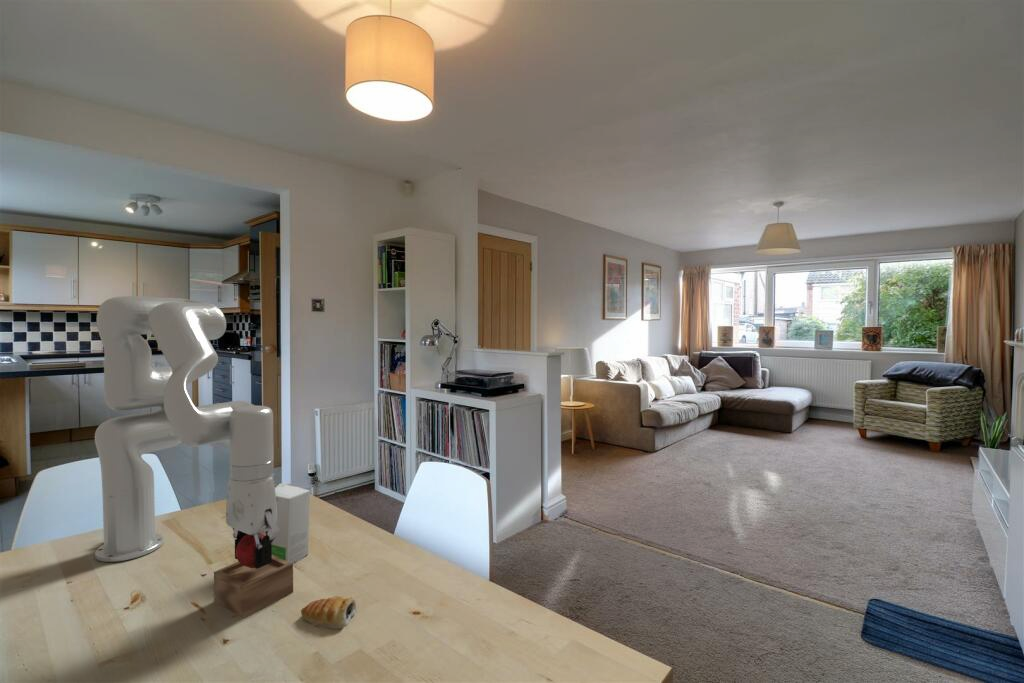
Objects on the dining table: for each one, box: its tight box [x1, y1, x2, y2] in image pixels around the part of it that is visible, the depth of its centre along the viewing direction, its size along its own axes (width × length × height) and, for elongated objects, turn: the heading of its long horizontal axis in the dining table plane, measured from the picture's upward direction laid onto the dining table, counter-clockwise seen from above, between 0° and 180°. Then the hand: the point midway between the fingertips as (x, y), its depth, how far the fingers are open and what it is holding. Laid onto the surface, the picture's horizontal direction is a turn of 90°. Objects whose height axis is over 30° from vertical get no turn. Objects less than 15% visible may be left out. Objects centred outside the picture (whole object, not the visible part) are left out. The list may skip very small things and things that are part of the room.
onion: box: [236, 533, 265, 568], centre depth 95 cm, size 6×6×8 cm
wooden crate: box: [213, 555, 294, 619], centre depth 96 cm, size 10×10×6 cm
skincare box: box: [262, 484, 311, 565], centre depth 111 cm, size 8×7×16 cm
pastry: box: [300, 595, 358, 630], centre depth 89 cm, size 9×7×4 cm
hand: (253, 560), depth 96 cm, fingers closed on onion, 5 cm apart
